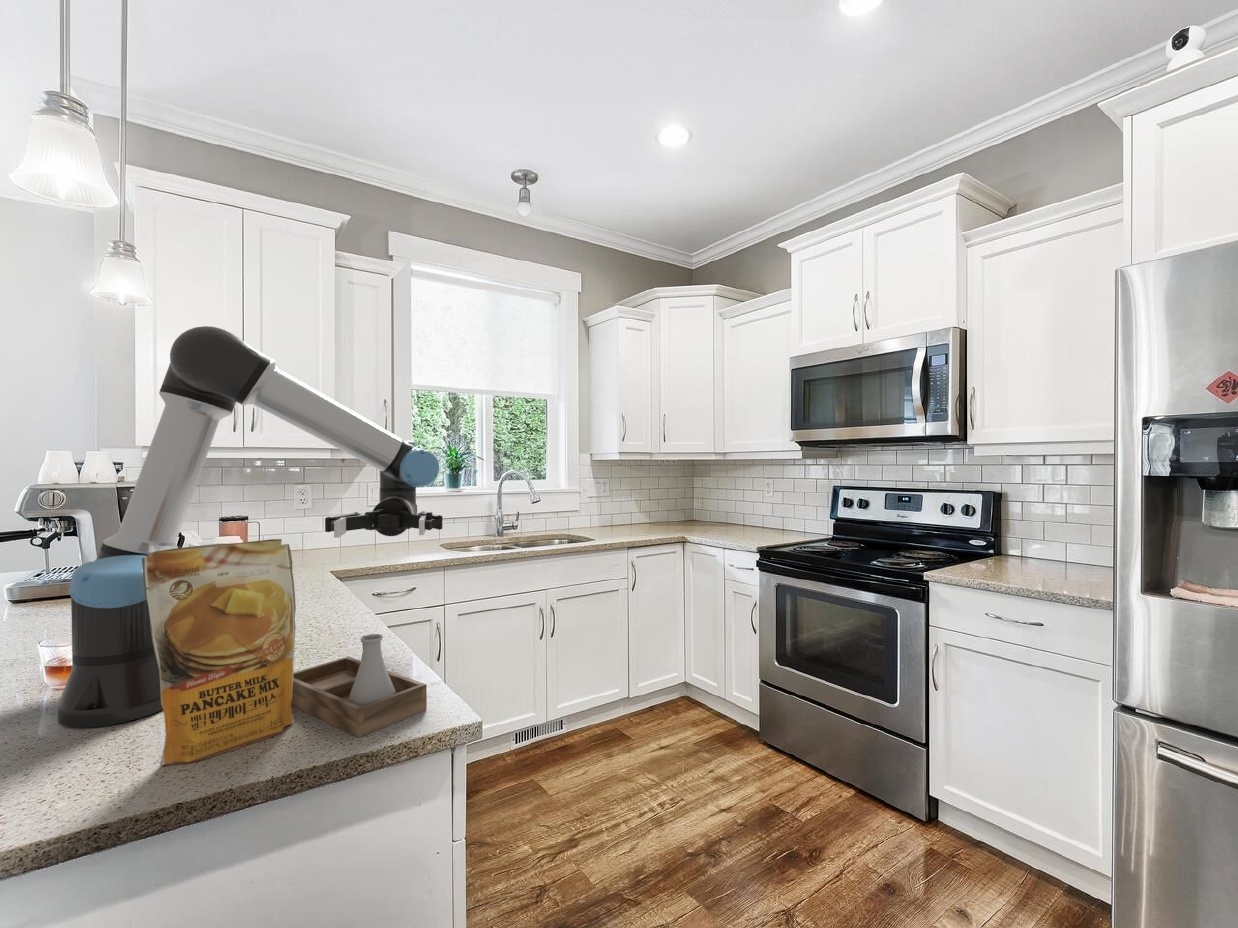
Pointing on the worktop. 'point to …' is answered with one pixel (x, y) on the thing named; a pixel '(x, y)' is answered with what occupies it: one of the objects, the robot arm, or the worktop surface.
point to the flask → (371, 674)
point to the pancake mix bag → (222, 644)
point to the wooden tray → (330, 690)
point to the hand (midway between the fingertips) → (379, 528)
